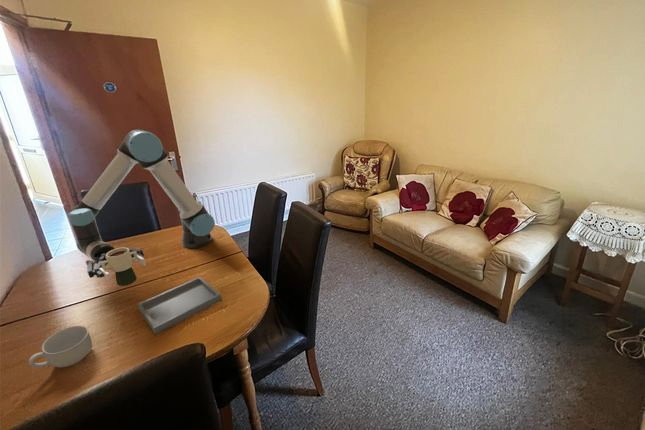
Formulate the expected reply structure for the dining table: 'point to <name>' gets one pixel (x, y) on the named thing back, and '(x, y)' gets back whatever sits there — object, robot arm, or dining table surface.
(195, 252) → the dining table surface
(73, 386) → the dining table surface
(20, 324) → the dining table surface
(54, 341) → the teacup
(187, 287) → the tray
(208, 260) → the dining table surface
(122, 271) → the character mug
